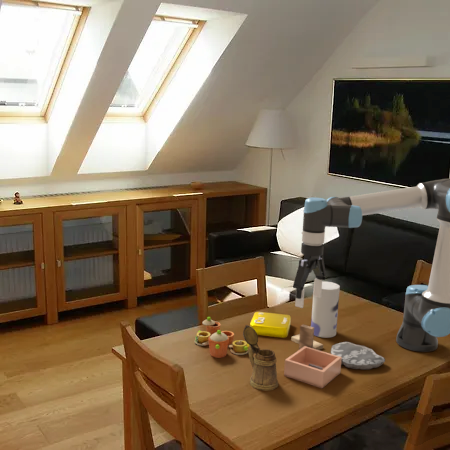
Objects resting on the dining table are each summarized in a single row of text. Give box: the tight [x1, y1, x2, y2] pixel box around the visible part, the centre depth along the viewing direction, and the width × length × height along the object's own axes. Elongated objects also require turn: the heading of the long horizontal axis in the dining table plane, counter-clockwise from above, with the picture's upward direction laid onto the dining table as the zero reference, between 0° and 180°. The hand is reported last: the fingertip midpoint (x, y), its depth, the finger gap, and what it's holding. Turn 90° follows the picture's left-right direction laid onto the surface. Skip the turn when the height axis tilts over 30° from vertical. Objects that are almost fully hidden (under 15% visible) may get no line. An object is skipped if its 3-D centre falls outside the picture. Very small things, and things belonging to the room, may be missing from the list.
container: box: [310, 281, 341, 339], centre depth 228 cm, size 10×10×20 cm
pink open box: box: [283, 346, 342, 389], centre depth 194 cm, size 14×14×6 cm
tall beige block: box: [298, 324, 315, 350], centre depth 206 cm, size 4×2×12 cm, turn 55°
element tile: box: [249, 311, 292, 339], centre depth 232 cm, size 15×15×5 cm
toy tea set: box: [194, 316, 251, 359], centre depth 215 cm, size 26×16×10 cm, turn 32°
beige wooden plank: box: [290, 333, 324, 351], centre depth 219 cm, size 12×4×2 cm, turn 40°
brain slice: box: [330, 341, 386, 370], centre depth 206 cm, size 20×17×3 cm
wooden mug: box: [242, 324, 279, 391], centre depth 187 cm, size 9×14×18 cm, turn 47°
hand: (308, 301), depth 203 cm, fingers open, 13 cm apart
